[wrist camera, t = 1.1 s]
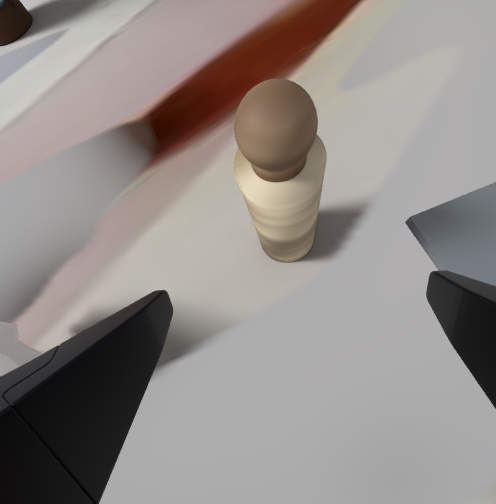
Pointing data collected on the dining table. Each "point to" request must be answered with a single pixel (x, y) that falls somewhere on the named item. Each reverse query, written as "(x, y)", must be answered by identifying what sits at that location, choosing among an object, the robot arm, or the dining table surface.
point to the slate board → (461, 234)
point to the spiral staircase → (13, 349)
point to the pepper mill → (280, 166)
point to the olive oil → (13, 20)
